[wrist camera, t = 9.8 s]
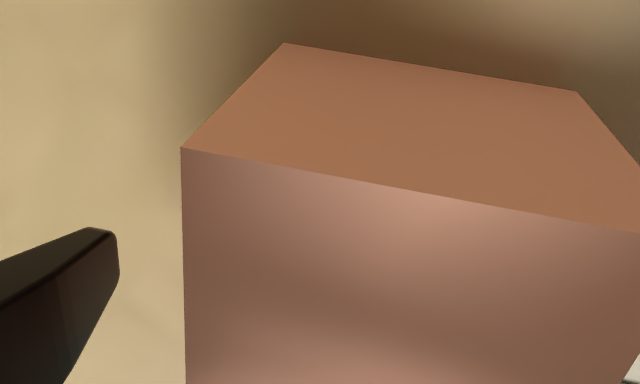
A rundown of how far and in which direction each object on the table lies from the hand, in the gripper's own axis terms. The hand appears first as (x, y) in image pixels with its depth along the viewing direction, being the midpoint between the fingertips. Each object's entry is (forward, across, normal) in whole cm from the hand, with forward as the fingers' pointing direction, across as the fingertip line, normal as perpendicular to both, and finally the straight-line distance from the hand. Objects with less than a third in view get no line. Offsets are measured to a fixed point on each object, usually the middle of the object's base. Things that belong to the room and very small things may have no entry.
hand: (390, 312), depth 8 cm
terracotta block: (+4, 0, 0) cm, 4 cm away
